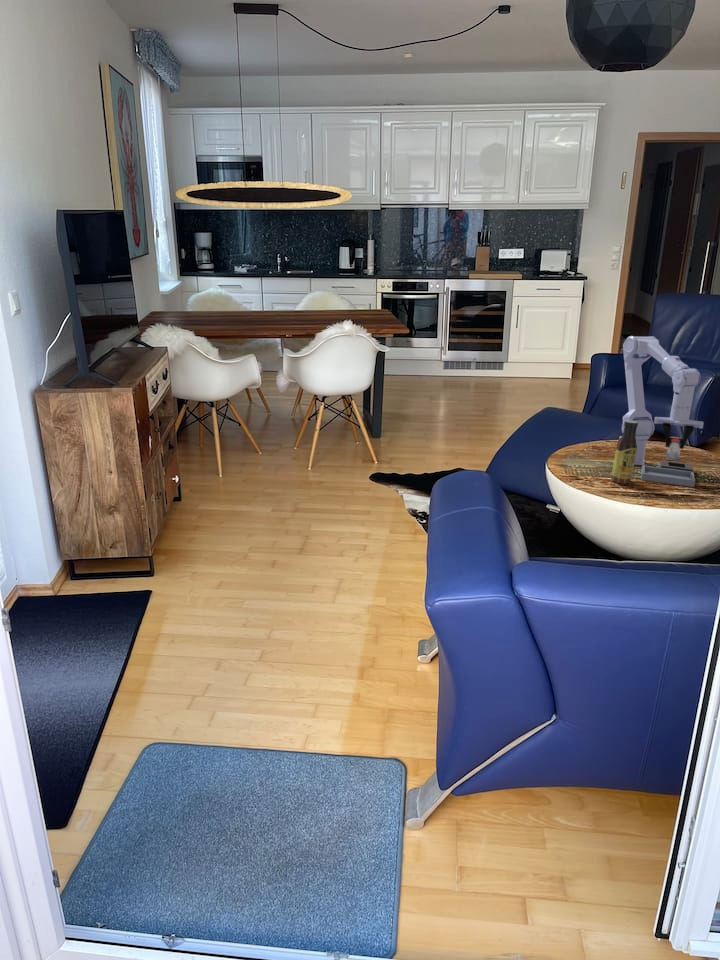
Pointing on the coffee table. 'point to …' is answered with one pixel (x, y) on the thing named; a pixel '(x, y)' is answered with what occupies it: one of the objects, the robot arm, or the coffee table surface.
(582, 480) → the coffee table surface
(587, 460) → the coffee table surface
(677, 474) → the tray
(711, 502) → the coffee table surface
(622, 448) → the sauce bottle
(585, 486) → the coffee table surface
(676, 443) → the small white jar
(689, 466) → the hitch block
